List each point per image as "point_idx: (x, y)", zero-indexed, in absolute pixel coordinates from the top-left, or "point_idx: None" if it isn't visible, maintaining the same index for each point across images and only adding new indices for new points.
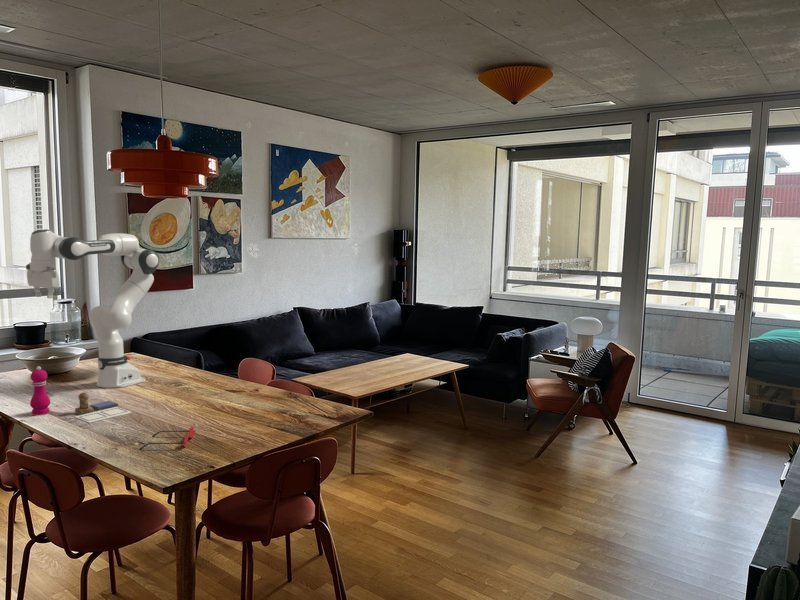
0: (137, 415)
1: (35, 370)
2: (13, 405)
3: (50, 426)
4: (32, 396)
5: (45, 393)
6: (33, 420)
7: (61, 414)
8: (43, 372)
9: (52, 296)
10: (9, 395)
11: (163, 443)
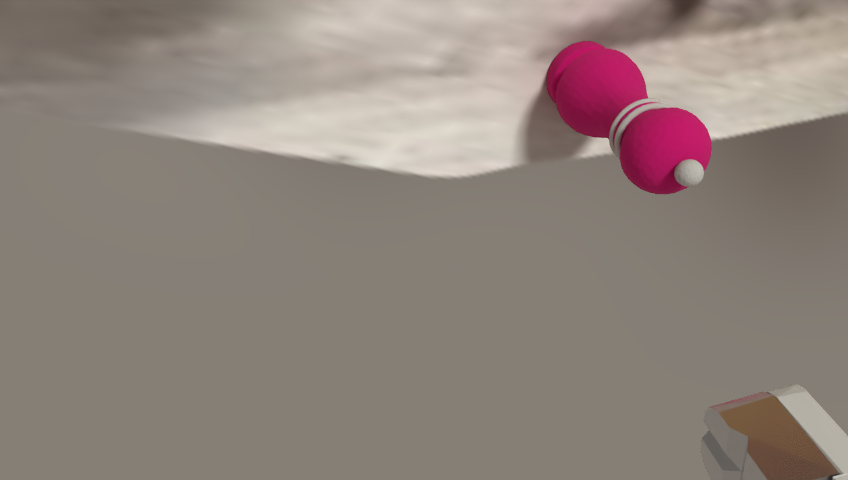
0: None
1: (669, 181)
2: (362, 139)
3: (778, 92)
4: (599, 136)
5: (644, 90)
6: None
7: (669, 8)
8: (709, 144)
9: (822, 418)
10: (135, 118)
11: None
